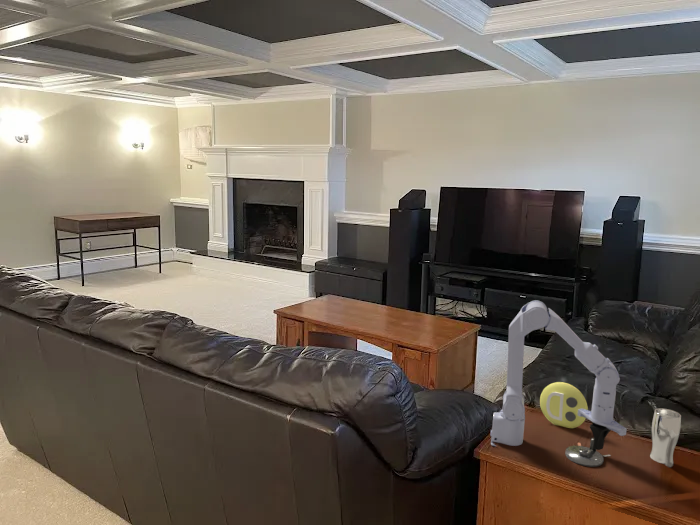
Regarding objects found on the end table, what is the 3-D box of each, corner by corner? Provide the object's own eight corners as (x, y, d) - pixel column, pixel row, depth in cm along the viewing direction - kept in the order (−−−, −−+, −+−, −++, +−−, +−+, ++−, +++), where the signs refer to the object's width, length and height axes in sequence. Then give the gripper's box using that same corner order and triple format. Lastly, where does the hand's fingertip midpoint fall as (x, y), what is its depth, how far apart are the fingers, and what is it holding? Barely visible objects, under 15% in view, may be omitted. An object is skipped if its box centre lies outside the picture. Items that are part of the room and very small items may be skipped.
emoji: (536, 423, 180) (583, 436, 170) (538, 379, 178) (586, 389, 169) (541, 419, 183) (588, 432, 174) (544, 376, 182) (591, 386, 172)
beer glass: (665, 470, 153) (672, 420, 150) (642, 458, 159) (648, 410, 156) (680, 465, 156) (687, 416, 154) (656, 453, 162) (663, 406, 160)
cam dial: (591, 470, 149) (593, 456, 148) (558, 455, 157) (559, 441, 156) (611, 459, 156) (612, 445, 155) (578, 444, 163) (579, 431, 163)
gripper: (635, 411, 151) (630, 457, 153) (590, 392, 164) (586, 435, 166) (619, 415, 148) (613, 462, 150) (574, 396, 160) (570, 439, 163)
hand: (598, 448), depth 158 cm, fingers closed, pressing on cam dial
